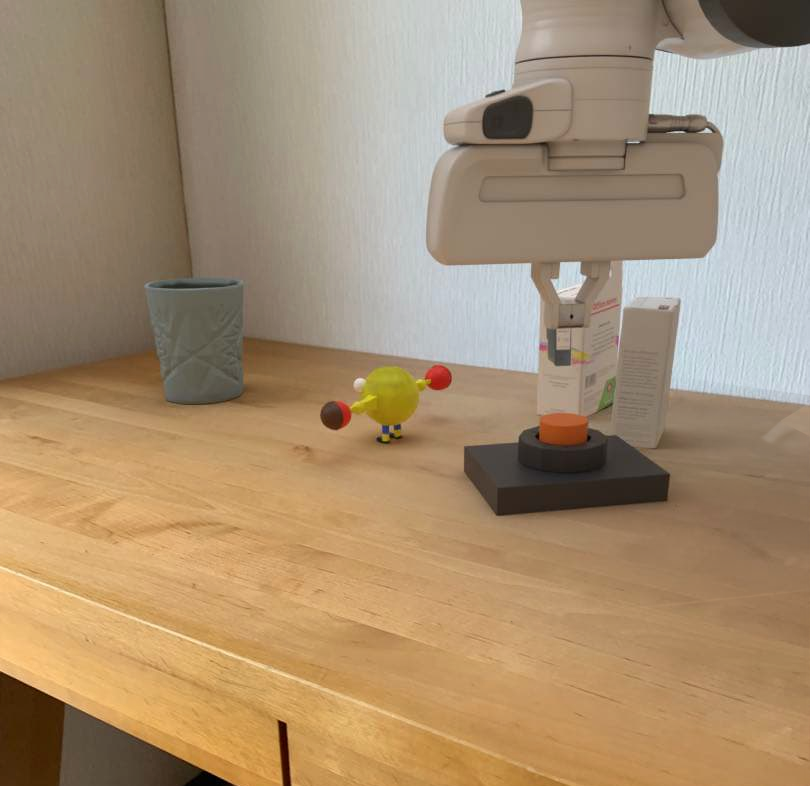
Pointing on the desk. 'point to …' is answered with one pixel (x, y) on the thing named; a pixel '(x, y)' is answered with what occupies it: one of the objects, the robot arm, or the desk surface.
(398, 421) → the toy figure
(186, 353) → the drinking glass
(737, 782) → the desk surface
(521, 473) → the black button base
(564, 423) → the button
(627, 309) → the cosmetic box
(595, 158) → the robot arm
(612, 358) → the ink box
